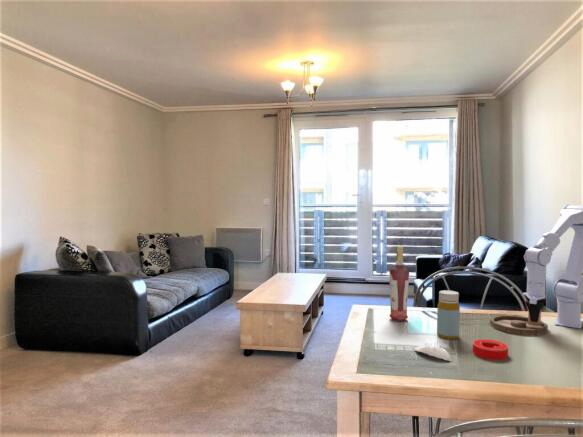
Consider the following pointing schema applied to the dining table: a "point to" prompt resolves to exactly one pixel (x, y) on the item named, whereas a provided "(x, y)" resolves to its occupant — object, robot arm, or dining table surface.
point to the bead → (534, 322)
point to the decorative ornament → (490, 349)
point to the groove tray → (517, 325)
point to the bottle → (448, 314)
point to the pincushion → (434, 351)
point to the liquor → (399, 288)
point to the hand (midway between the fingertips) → (535, 320)
